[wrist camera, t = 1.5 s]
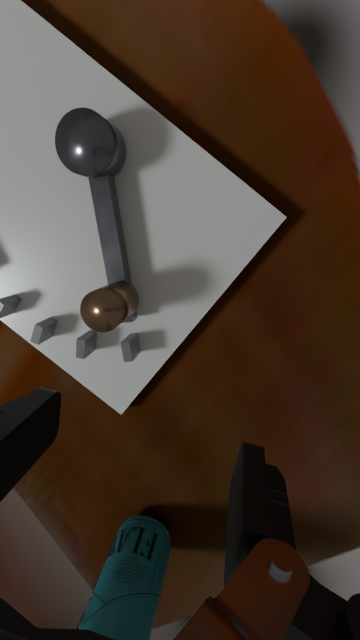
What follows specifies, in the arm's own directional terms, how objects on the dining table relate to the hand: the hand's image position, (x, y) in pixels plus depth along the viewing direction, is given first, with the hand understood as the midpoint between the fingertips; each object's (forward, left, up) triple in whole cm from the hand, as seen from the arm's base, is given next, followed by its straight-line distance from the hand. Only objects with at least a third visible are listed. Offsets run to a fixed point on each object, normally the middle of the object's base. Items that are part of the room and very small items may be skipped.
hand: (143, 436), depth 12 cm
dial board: (+2, -15, -20) cm, 25 cm away
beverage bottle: (+25, +11, -20) cm, 34 cm away
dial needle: (-1, -11, -18) cm, 21 cm away
